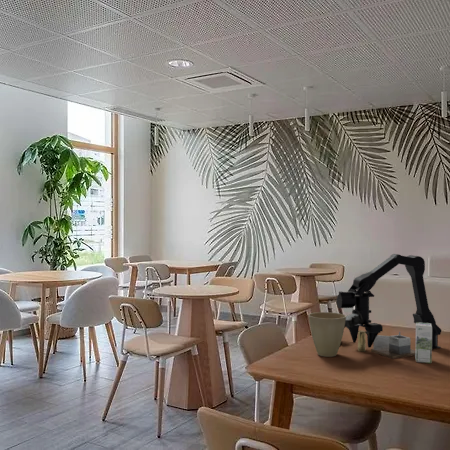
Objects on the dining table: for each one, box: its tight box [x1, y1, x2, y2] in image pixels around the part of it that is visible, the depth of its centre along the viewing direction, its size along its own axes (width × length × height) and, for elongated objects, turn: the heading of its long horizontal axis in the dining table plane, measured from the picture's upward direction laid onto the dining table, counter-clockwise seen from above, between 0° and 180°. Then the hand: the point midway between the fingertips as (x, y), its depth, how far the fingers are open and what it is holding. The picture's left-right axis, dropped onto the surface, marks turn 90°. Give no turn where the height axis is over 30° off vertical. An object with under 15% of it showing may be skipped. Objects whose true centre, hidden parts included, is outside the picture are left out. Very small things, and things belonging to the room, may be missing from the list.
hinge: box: [370, 331, 416, 360], centre depth 207 cm, size 15×12×7 cm
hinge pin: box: [357, 330, 367, 352], centre depth 211 cm, size 3×3×8 cm
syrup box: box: [414, 323, 433, 364], centre depth 195 cm, size 6×6×14 cm
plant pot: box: [308, 311, 347, 358], centre depth 205 cm, size 15×15×16 cm
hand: (361, 344), depth 211 cm, fingers open, 9 cm apart
